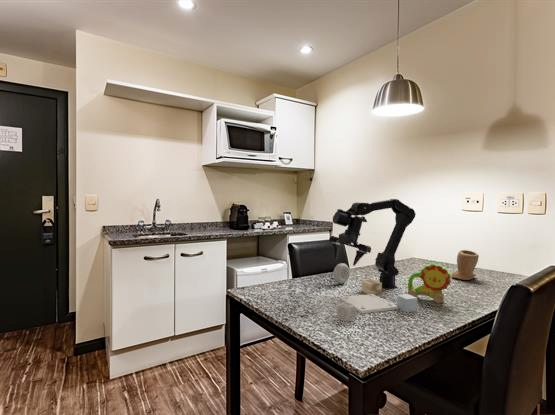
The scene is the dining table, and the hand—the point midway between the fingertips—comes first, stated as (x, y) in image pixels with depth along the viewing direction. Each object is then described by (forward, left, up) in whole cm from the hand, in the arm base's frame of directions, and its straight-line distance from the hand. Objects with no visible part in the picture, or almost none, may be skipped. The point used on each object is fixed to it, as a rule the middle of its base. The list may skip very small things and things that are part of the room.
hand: (344, 262), depth 143 cm
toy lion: (-27, +22, -13) cm, 37 cm away
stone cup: (-74, -1, -13) cm, 75 cm away
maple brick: (-10, +7, -13) cm, 17 cm away
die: (+17, +31, -13) cm, 38 cm away
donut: (-4, -9, -13) cm, 16 cm away
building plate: (+1, +20, -12) cm, 24 cm away
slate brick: (-10, +29, -12) cm, 33 cm away
